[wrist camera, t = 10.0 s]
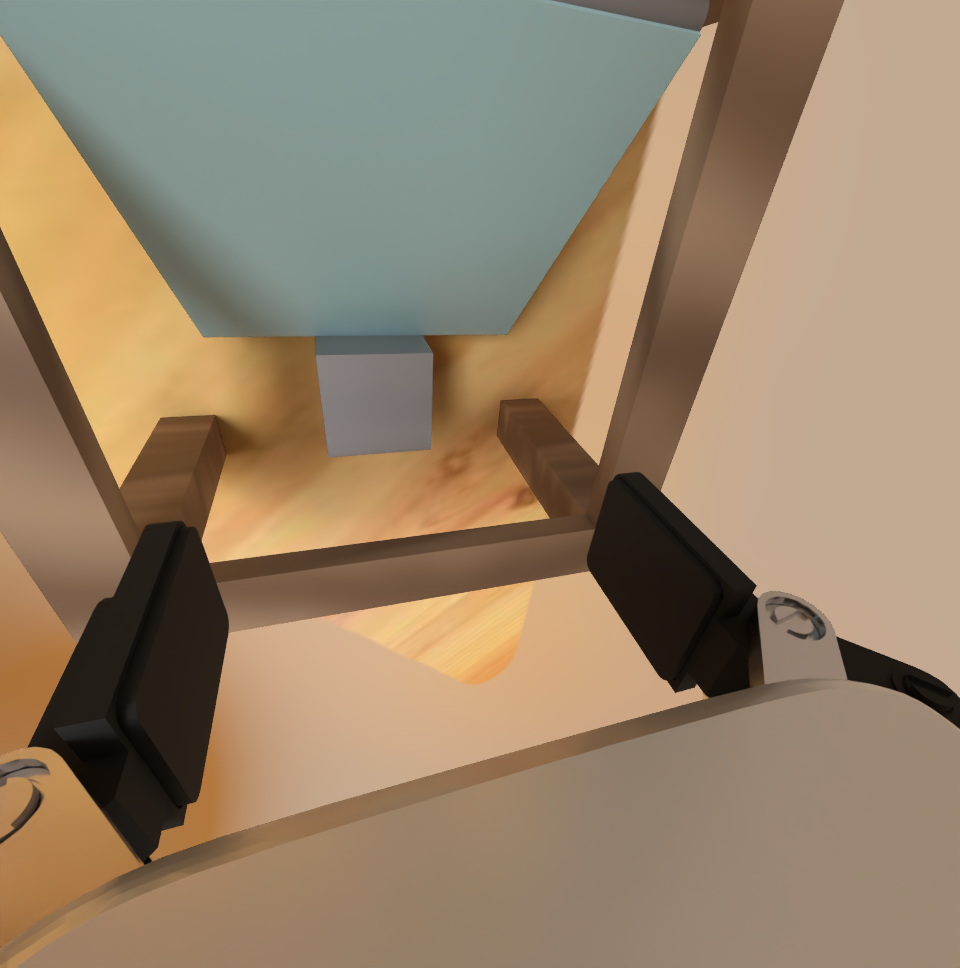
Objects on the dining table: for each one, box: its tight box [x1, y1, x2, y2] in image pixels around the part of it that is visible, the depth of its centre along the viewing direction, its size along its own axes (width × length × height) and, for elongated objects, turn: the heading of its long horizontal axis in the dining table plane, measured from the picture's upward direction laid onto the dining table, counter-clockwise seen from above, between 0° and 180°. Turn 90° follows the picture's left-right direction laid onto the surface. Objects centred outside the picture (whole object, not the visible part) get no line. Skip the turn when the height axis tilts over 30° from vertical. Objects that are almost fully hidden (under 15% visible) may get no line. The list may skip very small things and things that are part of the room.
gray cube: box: [315, 335, 433, 457], centre depth 23 cm, size 5×5×5 cm
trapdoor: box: [0, 0, 709, 337], centre depth 15 cm, size 14×14×1 cm
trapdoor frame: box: [0, 0, 844, 644], centre depth 17 cm, size 21×21×12 cm
